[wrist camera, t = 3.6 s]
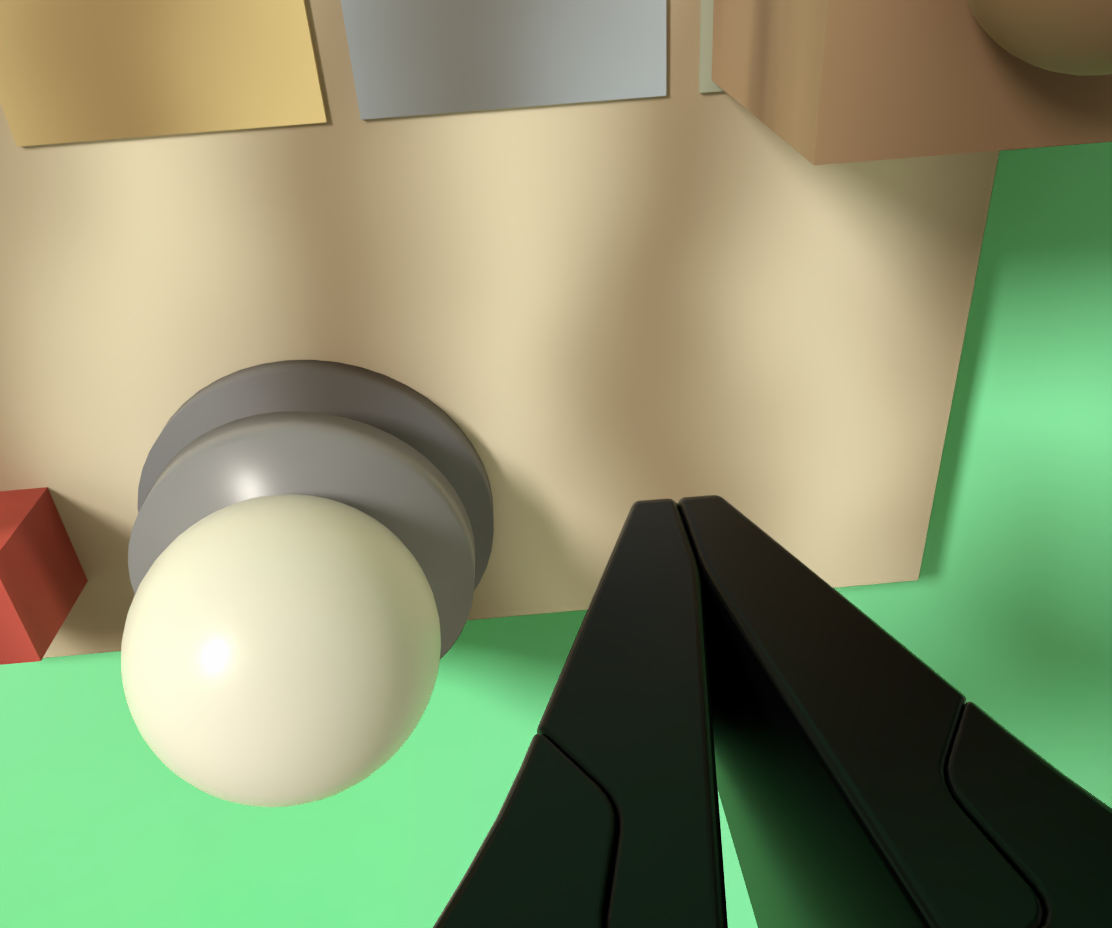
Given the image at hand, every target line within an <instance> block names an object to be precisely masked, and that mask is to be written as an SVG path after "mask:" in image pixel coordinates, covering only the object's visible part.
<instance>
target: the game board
mask: <svg viewBox="0 0 1112 928" xmlns="http://www.w3.org/2000/svg"><path fill="white" fill-rule="evenodd" d="M713 5H714V0H0V665H1V664H12V663H23V662H35V661H41V660H42V658H46V657H58V656H69V655H80V654H92V653H103V652H114V651H121V643H122V638H123V632H124V627H125V623H126V618H127V614H128V611H129V608H130V606H131V603H132V601H133V598H134V596H135V594H134V591H133V588H132V584H131V581H130V575H129V567H128V546H129V541H130V536H131V532H132V528H133V525H134V523H135V520H136V518H137V516H138V513H139V511H140V509H141V507H142V506H143V504H144V502H145V500H146V499H147V497H148V495H149V493H150V492H151V490H152V488H153V486H154V485H155V483H156V481H157V480H158V478H159V476H160V475H161V473H162V472H163V470H164V469H165V467H166V466H167V465H168V464H169V463H170V461H171V460H172V459H173V458H174V457H175V456H176V455H177V454H178V453H179V452H180V451H181V450H182V449H184V448H185V447H186V446H187V445H189V444H190V443H191V442H192V441H194V440H195V439H197V438H198V437H200V436H202V435H204V434H205V433H207V432H209V431H210V430H212V429H214V428H217V427H219V426H222V425H224V424H226V423H229V422H231V421H234V420H238V419H242V418H245V417H249V416H253V415H259V414H266V413H273V412H290V411H304V412H315V413H326V414H331V415H336V416H341V417H346V418H350V419H353V420H356V421H359V422H362V423H365V424H368V425H371V426H373V427H376V428H378V429H380V430H382V431H385V432H387V433H389V434H391V435H393V436H395V437H396V438H398V439H400V440H402V441H403V442H405V443H407V444H408V445H410V446H411V447H413V448H414V449H415V450H417V451H418V452H419V453H421V454H422V455H423V456H425V457H426V458H427V459H428V460H429V461H430V462H431V463H432V464H433V465H434V466H435V467H436V468H437V469H438V470H439V471H440V472H441V473H442V474H443V475H444V476H445V477H446V479H447V480H448V481H449V483H450V484H451V485H452V486H453V488H454V489H455V491H456V492H457V494H458V496H459V498H460V499H461V501H462V503H463V505H464V507H465V509H466V512H467V515H468V517H469V520H470V522H471V527H472V531H473V536H474V544H475V583H474V594H473V603H472V606H471V610H470V613H469V617H468V619H467V620H475V619H486V618H497V617H509V616H520V615H531V614H542V613H554V612H565V611H576V610H587V609H588V608H589V605H590V603H591V601H592V598H593V596H594V593H595V591H596V589H597V586H598V584H599V582H600V579H601V577H602V575H603V572H604V570H605V567H606V565H607V563H608V560H609V558H610V556H611V553H612V551H613V548H614V546H615V544H616V541H617V539H618V537H619V534H620V532H621V530H622V527H623V525H624V522H625V520H626V518H627V515H628V513H629V511H630V508H631V506H632V505H633V503H635V502H636V501H640V500H654V499H672V500H674V501H675V502H676V503H678V501H679V500H680V499H681V498H683V497H694V496H707V495H718V496H721V497H723V498H724V499H725V500H727V501H728V502H729V503H730V504H731V505H733V506H734V507H735V508H736V509H738V510H739V511H740V512H741V513H742V514H744V515H745V516H746V517H747V518H749V519H750V520H751V521H752V522H753V523H755V524H756V525H757V526H758V527H760V528H761V529H762V530H763V531H764V532H766V533H767V534H768V535H769V536H771V537H772V538H773V539H774V540H775V541H777V542H778V543H779V544H780V545H781V546H783V547H784V548H785V549H786V550H788V551H789V552H790V553H791V554H792V555H794V556H795V557H796V558H797V559H799V560H800V561H801V562H802V563H803V564H805V565H806V566H807V567H808V568H810V569H811V570H812V571H813V572H814V573H816V574H817V575H818V576H819V577H820V578H822V579H823V580H824V581H825V582H827V583H828V584H829V585H830V586H831V587H833V588H835V587H847V586H858V585H869V584H880V583H892V582H903V581H914V580H918V578H919V573H920V568H921V562H922V557H923V552H924V547H925V541H926V536H927V531H928V525H929V520H930V515H931V510H932V504H933V499H934V494H935V489H936V483H937V478H938V473H939V467H940V462H941V457H942V452H943V446H944V441H945V436H946V431H947V425H948V420H949V415H950V410H951V404H952V399H953V394H954V388H955V383H956V378H957V373H958V367H959V362H960V357H961V352H962V346H963V341H964V336H965V330H966V325H967V320H968V315H969V309H970V304H971V299H972V294H973V288H974V283H975V278H976V272H977V267H978V262H979V257H980V251H981V246H982V241H983V236H984V230H985V225H986V220H987V215H988V209H989V204H990V199H991V193H992V188H993V183H994V178H995V172H996V167H997V162H998V157H999V151H988V152H975V153H963V154H951V155H938V156H926V157H913V158H901V159H888V160H876V161H863V162H851V163H838V164H826V165H813V164H812V163H811V162H809V161H808V160H807V159H806V158H805V157H803V156H802V155H801V154H800V153H799V152H797V151H796V150H795V149H794V148H793V147H791V146H790V145H789V144H788V143H787V142H785V141H784V140H783V139H782V138H781V137H779V136H778V135H777V134H776V133H775V132H773V131H772V130H771V129H770V128H769V127H767V126H766V125H765V124H764V123H763V122H761V121H760V120H759V119H758V118H757V117H755V116H754V115H753V114H752V113H751V112H749V111H748V110H747V109H746V108H745V107H743V106H742V105H741V104H740V103H739V102H737V101H736V100H735V99H734V98H733V97H731V96H730V95H729V94H728V93H727V92H725V91H724V90H723V89H722V88H721V87H719V86H718V85H717V84H716V83H715V82H713V81H712V44H713Z"/></svg>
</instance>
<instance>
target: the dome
mask: <svg viewBox="0 0 1112 928" xmlns="http://www.w3.org/2000/svg"><path fill="white" fill-rule="evenodd" d="M128 567H129V575H130V581H131V584H132V588H133V591H134V594H135V596H134V598H133V601H132V603H131V606H130V608H129V611H128V614H127V618H126V623H125V627H124V632H123V638H122V643H121V674H122V681H123V687H124V692H125V696H126V700H127V704H128V707H129V709H130V712H131V715H132V717H133V719H134V721H135V723H136V725H137V728H138V729H139V731H140V733H141V735H142V737H143V739H144V740H145V741H146V743H147V744H148V745H149V747H150V748H151V749H152V751H153V752H154V753H155V754H156V755H157V757H158V758H159V759H160V760H161V761H162V762H163V763H164V764H165V765H166V766H167V767H168V768H169V769H170V770H171V771H173V772H174V773H175V774H176V775H178V776H179V777H180V778H182V779H183V780H185V781H186V782H188V783H190V784H191V785H193V786H194V787H196V788H197V789H199V790H201V791H203V792H205V793H207V794H210V795H212V796H215V797H217V798H220V799H223V800H226V801H230V802H233V803H238V804H243V805H249V806H258V807H286V806H294V805H300V804H304V803H309V802H313V801H318V800H321V799H324V798H327V797H330V796H333V795H335V794H337V793H340V792H342V791H344V790H346V789H348V788H350V787H352V786H354V785H356V784H357V783H359V782H361V781H362V780H364V779H366V778H367V777H368V776H370V775H371V774H372V773H374V772H375V771H376V770H377V769H379V768H380V767H381V766H382V765H383V764H385V763H386V762H387V761H388V760H389V759H390V758H391V757H392V756H393V755H394V754H395V753H396V752H397V751H398V750H399V749H400V747H401V746H402V745H403V744H404V743H405V741H406V740H407V739H408V738H409V736H410V735H411V733H412V732H413V730H414V729H415V728H416V726H417V724H418V722H419V721H420V719H421V717H422V715H423V713H424V711H425V709H426V707H427V705H428V703H429V700H430V697H431V694H432V692H433V689H434V685H435V682H436V678H437V674H438V668H439V661H440V659H441V658H442V657H443V656H444V655H445V654H446V653H447V651H448V650H449V649H450V648H451V647H452V646H453V644H454V643H455V641H456V640H457V638H458V637H459V635H460V634H461V632H462V630H463V628H464V626H465V624H466V621H467V619H468V617H469V613H470V610H471V606H472V603H473V594H474V583H475V544H474V536H473V531H472V527H471V522H470V520H469V517H468V515H467V512H466V509H465V507H464V505H463V503H462V501H461V499H460V498H459V496H458V494H457V492H456V491H455V489H454V488H453V486H452V485H451V484H450V483H449V481H448V480H447V479H446V477H445V476H444V475H443V474H442V473H441V472H440V471H439V470H438V469H437V468H436V467H435V466H434V465H433V464H432V463H431V462H430V461H429V460H428V459H427V458H426V457H425V456H423V455H422V454H421V453H419V452H418V451H417V450H415V449H414V448H413V447H411V446H410V445H408V444H407V443H405V442H403V441H402V440H400V439H398V438H396V437H395V436H393V435H391V434H389V433H387V432H385V431H382V430H380V429H378V428H376V427H373V426H371V425H368V424H365V423H362V422H359V421H356V420H353V419H350V418H346V417H341V416H336V415H331V414H326V413H315V412H304V411H290V412H273V413H266V414H259V415H253V416H249V417H245V418H242V419H238V420H234V421H231V422H229V423H226V424H224V425H222V426H219V427H217V428H214V429H212V430H210V431H209V432H207V433H205V434H204V435H202V436H200V437H198V438H197V439H195V440H194V441H192V442H191V443H190V444H189V445H187V446H186V447H185V448H184V449H182V450H181V451H180V452H179V453H178V454H177V455H176V456H175V457H174V458H173V459H172V460H171V461H170V463H169V464H168V465H167V466H166V467H165V469H164V470H163V472H162V473H161V475H160V476H159V478H158V480H157V481H156V483H155V485H154V486H153V488H152V490H151V492H150V493H149V495H148V497H147V499H146V500H145V502H144V504H143V506H142V507H141V509H140V511H139V513H138V516H137V518H136V520H135V523H134V525H133V528H132V532H131V536H130V541H129V546H128Z"/></svg>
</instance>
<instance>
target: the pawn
mask: <svg viewBox="0 0 1112 928" xmlns="http://www.w3.org/2000/svg"><path fill="white" fill-rule="evenodd" d="M712 81H713V82H715V83H716V84H717V85H718V86H719V87H721V88H722V89H723V90H724V91H725V92H727V93H728V94H729V95H730V96H731V97H733V98H734V99H735V100H736V101H737V102H739V103H740V104H741V105H742V106H743V107H745V108H746V109H747V110H748V111H749V112H751V113H752V114H753V115H754V116H755V117H757V118H758V119H759V120H760V121H761V122H763V123H764V124H765V125H766V126H767V127H769V128H770V129H771V130H772V131H773V132H775V133H776V134H777V135H778V136H779V137H781V138H782V139H783V140H784V141H785V142H787V143H788V144H789V145H790V146H791V147H793V148H794V149H795V150H796V151H797V152H799V153H800V154H801V155H802V156H803V157H805V158H806V159H807V160H808V161H809V162H811V163H812V164H813V165H826V164H838V163H851V162H863V161H876V160H888V159H901V158H913V157H926V156H938V155H951V154H963V153H975V152H988V151H1000V150H1013V149H1025V148H1038V147H1050V146H1063V145H1075V144H1088V143H1100V142H1112V0H714V5H713V44H712Z"/></svg>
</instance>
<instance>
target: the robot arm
mask: <svg viewBox="0 0 1112 928" xmlns="http://www.w3.org/2000/svg"><path fill="white" fill-rule="evenodd" d="M965 702H966V698H965V696H964V695H963V694H962V693H961V692H959V691H958V690H957V689H956V688H955V687H953V686H952V685H951V684H950V683H948V682H947V681H946V680H945V679H944V678H942V677H941V676H940V675H939V674H938V673H936V672H935V671H934V670H933V669H931V668H930V667H929V666H928V665H927V664H925V663H924V662H923V661H922V660H920V659H919V658H918V657H917V656H916V655H914V654H913V653H912V652H911V651H909V650H908V649H907V648H906V647H905V646H903V645H902V644H901V643H900V642H899V641H897V640H896V639H895V638H894V637H892V636H891V635H890V634H889V633H888V632H886V631H885V630H884V629H883V628H881V627H880V626H879V625H878V624H877V623H875V622H874V621H873V620H872V619H870V618H869V617H868V616H867V615H866V614H864V613H863V612H862V611H861V610H859V609H858V608H857V607H856V606H855V605H853V604H852V603H851V602H850V601H849V600H847V599H846V598H845V597H844V596H842V595H841V594H840V593H839V592H838V591H836V590H835V589H834V588H833V587H831V586H830V585H829V584H828V583H827V582H825V581H824V580H823V579H822V578H820V577H819V576H818V575H817V574H816V573H814V572H813V571H812V570H811V569H810V568H808V567H807V566H806V565H805V564H803V563H802V562H801V561H800V560H799V559H797V558H796V557H795V556H794V555H792V554H791V553H790V552H789V551H788V550H786V549H785V548H784V547H783V546H781V545H780V544H779V543H778V542H777V541H775V540H774V539H773V538H772V537H771V536H769V535H768V534H767V533H766V532H764V531H763V530H762V529H761V528H760V527H758V526H757V525H756V524H755V523H753V522H752V521H751V520H750V519H749V518H747V517H746V516H745V515H744V514H742V513H741V512H740V511H739V510H738V509H736V508H735V507H734V506H733V505H731V504H730V503H729V502H728V501H727V500H725V499H724V498H723V497H721V496H718V495H707V496H694V497H683V498H681V499H680V500H679V501H678V503H676V502H675V501H674V500H672V499H654V500H640V501H636V502H635V503H633V505H632V506H631V508H630V511H629V513H628V515H627V518H626V520H625V522H624V525H623V527H622V530H621V532H620V534H619V537H618V539H617V541H616V544H615V546H614V548H613V551H612V553H611V556H610V558H609V560H608V563H607V565H606V567H605V570H604V572H603V575H602V577H601V579H600V582H599V584H598V586H597V589H596V591H595V593H594V596H593V598H592V601H591V603H590V605H589V608H588V610H587V612H586V615H585V617H584V620H583V622H582V624H581V627H580V629H579V631H578V634H577V636H576V638H575V641H574V643H573V646H572V648H571V650H570V653H569V655H568V657H567V660H566V662H565V665H564V667H563V669H562V672H561V674H560V676H559V679H558V681H557V683H556V686H555V688H554V691H553V693H552V695H551V698H550V700H549V702H548V705H547V707H546V710H545V712H544V714H543V717H542V719H541V721H540V724H539V726H538V729H537V734H536V735H535V736H534V737H533V739H532V741H531V744H530V746H529V749H528V751H527V753H526V756H525V758H524V760H523V763H522V765H521V767H520V770H519V772H518V774H517V776H516V778H515V780H514V782H513V785H512V787H511V789H510V791H509V793H508V795H507V797H506V799H505V802H504V804H503V806H502V808H501V810H500V812H499V814H498V816H497V819H496V820H495V822H494V824H493V826H492V827H491V829H490V831H489V833H488V835H487V836H486V838H485V840H484V842H483V843H482V845H481V847H480V849H479V851H478V852H477V854H476V856H475V858H474V860H473V861H472V863H471V865H470V867H469V868H468V870H467V872H466V874H465V875H464V877H463V879H462V880H461V882H460V884H459V885H458V887H457V889H456V890H455V892H454V894H453V895H452V897H451V899H450V900H449V902H448V903H447V905H446V907H445V908H444V910H443V912H442V913H441V915H440V917H439V918H438V920H437V922H436V923H435V925H434V927H433V928H728V925H727V911H726V897H725V884H724V870H723V857H722V843H721V830H720V816H719V802H718V792H719V795H720V798H721V802H722V805H723V809H724V812H725V816H726V819H727V822H728V826H729V829H730V833H731V836H732V840H733V843H734V847H735V850H736V853H737V857H738V860H739V864H740V867H741V871H742V874H743V877H744V881H745V884H746V888H747V891H748V895H749V898H750V901H751V905H752V908H753V912H754V915H755V919H756V922H757V925H758V928H1112V808H1110V807H1109V806H1107V805H1106V804H1105V803H1103V802H1102V801H1100V800H1099V799H1098V798H1096V797H1095V796H1093V795H1092V794H1091V793H1089V792H1088V791H1086V790H1085V789H1084V788H1082V787H1081V786H1079V785H1078V784H1077V783H1075V782H1074V781H1072V780H1071V779H1070V778H1068V777H1067V776H1065V775H1064V774H1063V773H1061V772H1060V771H1059V770H1058V769H1056V768H1055V767H1054V766H1052V765H1051V764H1050V763H1049V762H1047V761H1046V760H1045V759H1043V758H1042V757H1041V756H1040V755H1038V754H1037V753H1036V752H1034V751H1033V750H1032V749H1031V748H1029V747H1028V746H1027V745H1026V744H1024V743H1023V742H1022V741H1020V740H1019V739H1018V738H1017V737H1015V736H1014V735H1013V734H1011V733H1010V732H1009V731H1008V730H1006V729H1005V728H1004V727H1003V726H1001V725H1000V724H999V723H998V722H997V721H995V720H994V719H993V718H992V717H990V716H989V715H988V714H987V713H986V712H984V711H983V710H982V709H981V708H980V707H978V706H977V705H976V704H975V703H973V702H967V703H966V704H965ZM717 788H718V789H717Z"/></svg>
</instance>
